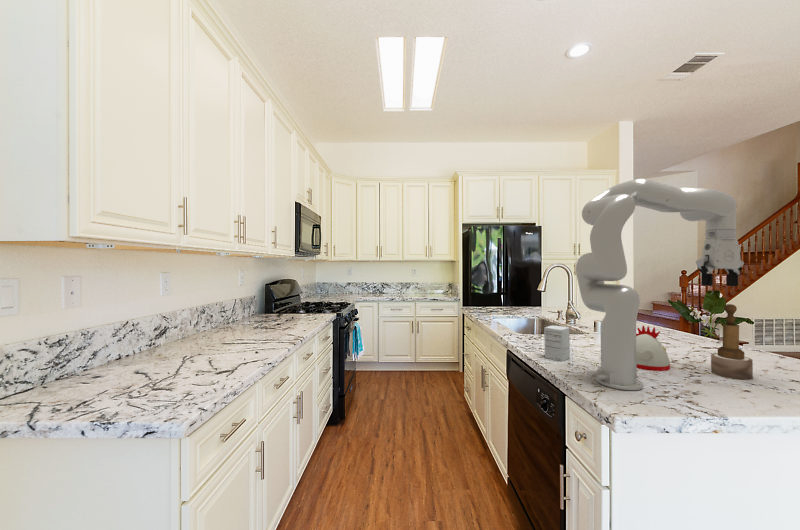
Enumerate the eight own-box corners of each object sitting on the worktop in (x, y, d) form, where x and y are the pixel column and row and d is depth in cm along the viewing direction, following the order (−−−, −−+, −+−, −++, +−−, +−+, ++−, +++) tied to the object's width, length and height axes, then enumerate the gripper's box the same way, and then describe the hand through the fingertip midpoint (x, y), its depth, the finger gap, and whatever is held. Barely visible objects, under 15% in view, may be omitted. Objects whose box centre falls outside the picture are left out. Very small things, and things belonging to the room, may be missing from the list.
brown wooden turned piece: (746, 360, 107) (746, 306, 107) (719, 357, 111) (718, 304, 111) (742, 356, 113) (741, 304, 113) (716, 353, 117) (715, 302, 117)
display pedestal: (735, 380, 106) (734, 361, 106) (703, 370, 116) (703, 353, 116) (761, 378, 108) (761, 360, 108) (727, 369, 118) (727, 352, 118)
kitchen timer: (666, 373, 114) (665, 330, 114) (619, 365, 124) (619, 325, 124) (672, 365, 123) (672, 325, 123) (629, 358, 133) (628, 321, 133)
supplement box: (552, 354, 139) (551, 324, 140) (570, 358, 134) (570, 327, 134) (544, 357, 135) (543, 327, 135) (562, 361, 129) (562, 329, 129)
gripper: (709, 234, 108) (708, 286, 108) (755, 235, 110) (754, 286, 109) (686, 236, 115) (686, 284, 115) (730, 237, 117) (729, 285, 117)
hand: (719, 285), depth 112 cm, fingers open, 9 cm apart
